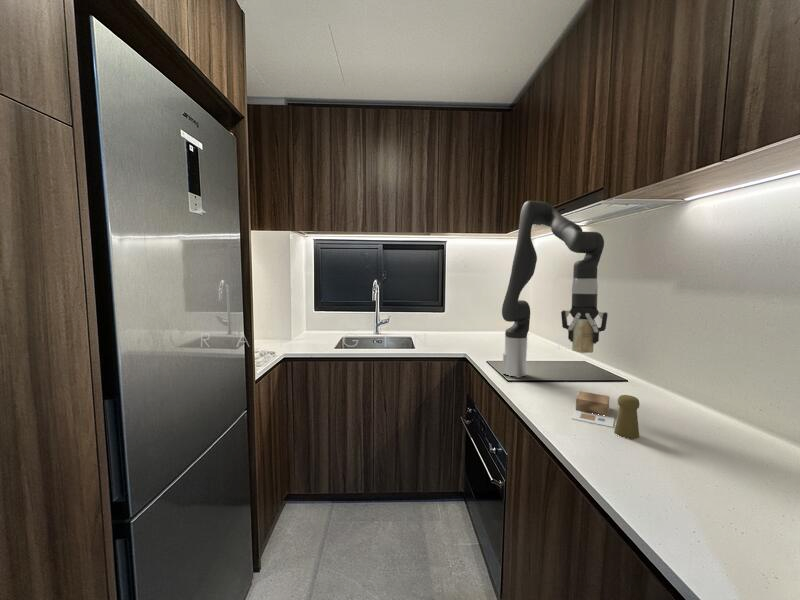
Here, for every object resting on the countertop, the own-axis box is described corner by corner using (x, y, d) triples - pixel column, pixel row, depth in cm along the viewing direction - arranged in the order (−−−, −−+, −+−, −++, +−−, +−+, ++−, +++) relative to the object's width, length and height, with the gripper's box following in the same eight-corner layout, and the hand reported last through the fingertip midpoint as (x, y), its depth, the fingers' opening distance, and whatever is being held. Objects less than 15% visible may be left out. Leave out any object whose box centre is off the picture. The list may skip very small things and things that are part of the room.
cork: (616, 427, 105) (618, 391, 104) (640, 433, 102) (642, 395, 101) (612, 434, 101) (614, 396, 100) (638, 441, 97) (640, 401, 96)
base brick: (575, 410, 119) (576, 398, 118) (579, 402, 126) (579, 391, 126) (607, 416, 114) (607, 404, 113) (608, 407, 121) (609, 396, 121)
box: (580, 353, 117) (581, 319, 117) (571, 350, 121) (572, 318, 121) (594, 352, 119) (595, 319, 118) (584, 350, 123) (585, 317, 122)
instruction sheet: (571, 418, 112) (571, 418, 112) (575, 410, 118) (575, 409, 118) (612, 427, 106) (612, 426, 105) (614, 418, 112) (614, 417, 112)
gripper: (610, 292, 118) (608, 342, 119) (563, 291, 126) (561, 338, 127) (608, 293, 112) (606, 346, 113) (559, 292, 120) (557, 341, 121)
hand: (583, 342), depth 120 cm, fingers closed on box, 6 cm apart
